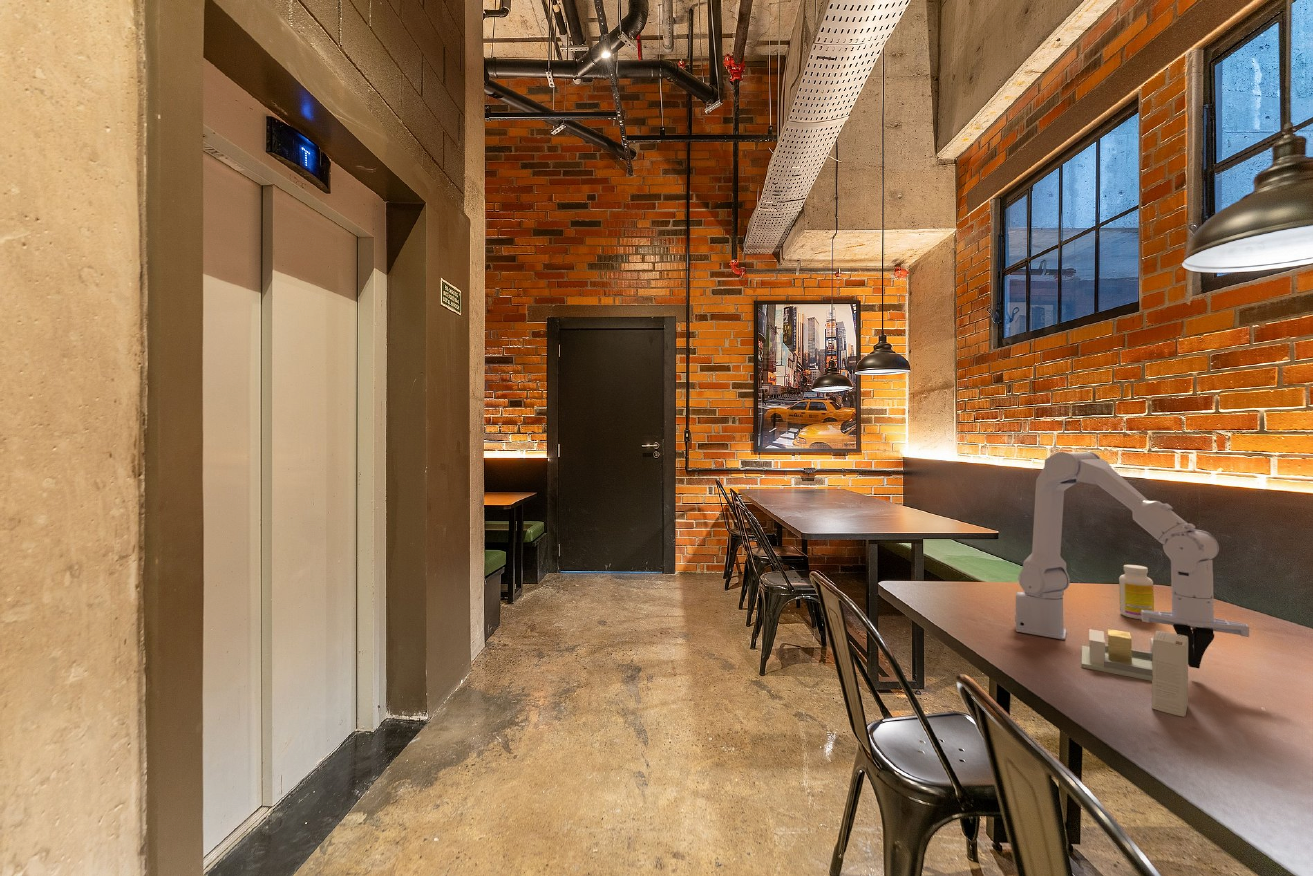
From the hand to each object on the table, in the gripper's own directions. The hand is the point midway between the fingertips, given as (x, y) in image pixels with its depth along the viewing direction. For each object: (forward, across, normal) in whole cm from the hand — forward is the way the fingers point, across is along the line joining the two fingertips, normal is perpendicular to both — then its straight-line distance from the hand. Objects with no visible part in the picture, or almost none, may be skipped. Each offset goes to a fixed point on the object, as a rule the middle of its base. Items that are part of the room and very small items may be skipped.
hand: (1193, 666), depth 104 cm
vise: (+2, -10, 0) cm, 10 cm away
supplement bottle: (+3, -6, +42) cm, 42 cm away
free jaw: (+1, -5, 0) cm, 5 cm away
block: (+2, -11, 0) cm, 11 cm away
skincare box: (+3, -5, -18) cm, 19 cm away
